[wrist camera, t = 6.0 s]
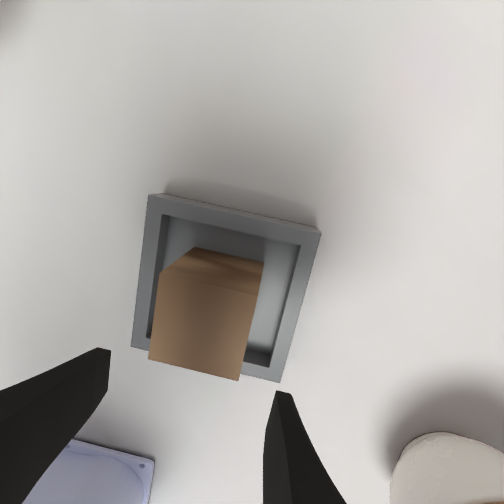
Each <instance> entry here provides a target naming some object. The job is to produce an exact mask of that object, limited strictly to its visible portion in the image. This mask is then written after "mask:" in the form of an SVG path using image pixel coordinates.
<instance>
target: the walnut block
mask: <svg viewBox="0 0 504 504" xmlns="http://www.w3.org/2000/svg"><path fill="white" fill-rule="evenodd" d="M263 266H264V262H259V261H255V260H251V259H246V258H242V257H238V256H233V255H229V254H224V253H220V252H216V251H211V250H207V249H203V248H198V247H193V248H192V249H191V250H189V251H188V252H187V253H185V254H184V255H183V256H181V257H180V258H179V259H177V260H176V261H175V262H173V263H172V264H171V265H169V266H168V267H167V268H165V269H164V270H163V271H162V272H160V274H159V281H158V289H157V296H156V303H155V311H154V318H153V326H152V333H151V341H150V348H149V355H148V359H150V360H154V361H158V362H162V363H166V364H170V365H174V366H178V367H183V368H187V369H191V370H195V371H199V372H203V373H207V374H211V375H215V376H219V377H223V378H227V379H231V380H235V381H238V380H239V376H240V371H241V367H242V363H243V359H244V354H245V350H246V346H247V341H248V337H249V333H250V328H251V324H252V320H253V316H254V311H255V307H256V303H257V298H258V294H259V288H260V283H261V277H262V272H263Z"/></svg>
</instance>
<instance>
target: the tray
mask: <svg viewBox="0 0 504 504" xmlns="http://www.w3.org/2000/svg"><path fill="white" fill-rule="evenodd" d="M320 237H321V232H320V231H319V230H318V229H317V228H316V227H311V226H307V225H302V224H298V223H293V222H289V221H284V220H280V219H275V218H271V217H266V216H262V215H258V214H253V213H249V212H244V211H240V210H235V209H231V208H226V207H222V206H217V205H213V204H208V203H204V202H199V201H195V200H190V199H186V198H181V197H177V196H172V195H168V194H163V193H162V194H151V195H148V202H147V211H146V220H145V228H144V237H143V246H142V254H141V263H140V271H139V280H138V289H137V297H136V306H135V314H134V323H133V332H132V340H131V347H134V348H138V349H142V350H147V351H149V348H150V341H151V333H152V326H153V318H154V311H155V303H156V296H157V289H158V281H159V274H160V272H162V271H163V270H164V269H165V268H167V267H168V266H169V265H171V264H172V263H173V262H175V261H176V260H177V259H179V258H180V257H181V256H183V255H184V254H185V253H187V252H188V251H189V250H191V249H192V248H193V247H198V248H203V249H207V250H211V251H216V252H220V253H224V254H229V255H233V256H238V257H242V258H246V259H251V260H255V261H259V262H264V266H263V272H262V277H261V283H260V288H259V294H258V298H257V303H256V307H255V311H254V316H253V320H252V324H251V328H250V333H249V337H248V341H247V346H246V350H245V354H244V359H243V363H242V367H241V371H240V374H244V375H248V376H253V377H257V378H261V379H265V380H269V381H273V382H277V383H280V381H281V377H282V374H283V370H284V367H285V363H286V359H287V356H288V352H289V349H290V345H291V341H292V338H293V334H294V331H295V327H296V323H297V320H298V316H299V313H300V309H301V305H302V302H303V298H304V295H305V291H306V287H307V284H308V280H309V277H310V273H311V269H312V266H313V262H314V259H315V255H316V251H317V248H318V244H319V241H320Z"/></svg>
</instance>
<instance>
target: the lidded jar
mask: <svg viewBox="0 0 504 504" xmlns="http://www.w3.org/2000/svg"><path fill="white" fill-rule="evenodd" d="M389 504H504V453H502V452H500V451H499V450H497V449H495V448H493V447H491V446H489V445H487V444H484V443H482V442H480V441H477V440H473V439H469V438H465V437H462V436H459V435H457V434H453V433H449V432H432V433H427V434H424V435H421V436H419V437H417V438H415V439H414V440H412V441H411V442H409V443H408V444H407V445H406V446H405V448H404V449H403V451H402V453H401V455H400V459H399V461H398V463H397V465H396V467H395V469H394V471H393V474H392V478H391V483H390V497H389Z"/></svg>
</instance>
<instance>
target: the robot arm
mask: <svg viewBox="0 0 504 504" xmlns="http://www.w3.org/2000/svg"><path fill="white" fill-rule="evenodd" d="M110 357H111V351H110V350H106V349H102V348H98V347H97V348H95V349H93V350H90V351H88V352H86V353H84V354H82V355H80V356H78V357H76V358H74V359H72V360H70V361H67V362H65V363H63V364H61V365H59V366H57V367H55V368H53V369H50V370H48V371H46V372H44V373H42V374H39V375H37V376H35V377H32V378H30V379H28V380H25V381H23V382H21V383H18V384H16V385H13V386H11V387H8V388H6V389H3V390H0V504H148V502H149V495H150V489H151V483H152V476H153V470H154V462H153V461H152V460H150V459H147V458H143V457H139V456H135V455H132V454H128V453H124V452H120V451H116V450H112V449H108V448H105V447H101V446H97V445H93V444H89V443H85V442H82V441H78V440H74V439H72V438H73V437H74V436H75V435H76V433H77V432H78V431H79V430H80V429H81V427H82V426H83V425H84V424H85V422H86V421H87V420H88V419H89V417H90V416H91V415H92V414H93V412H94V411H95V409H96V408H97V406H98V405H99V403H100V402H101V400H102V398H103V397H104V395H105V394H106V392H107V390H108V379H109V368H110ZM263 504H346V502H345V501H344V499H343V498H342V496H341V495H340V493H339V491H338V490H337V488H336V487H335V485H334V483H333V482H332V480H331V478H330V477H329V475H328V473H327V472H326V470H325V468H324V466H323V464H322V463H321V461H320V459H319V457H318V455H317V453H316V451H315V449H314V447H313V445H312V443H311V441H310V439H309V436H308V434H307V432H306V430H305V428H304V425H303V423H302V421H301V418H300V416H299V413H298V411H297V408H296V406H295V403H294V400H293V397H292V395H291V394H289V393H285V392H281V391H277V390H276V393H275V397H274V400H273V404H272V408H271V412H270V415H269V419H268V423H267V427H266V432H265V442H264V452H263Z"/></svg>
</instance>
